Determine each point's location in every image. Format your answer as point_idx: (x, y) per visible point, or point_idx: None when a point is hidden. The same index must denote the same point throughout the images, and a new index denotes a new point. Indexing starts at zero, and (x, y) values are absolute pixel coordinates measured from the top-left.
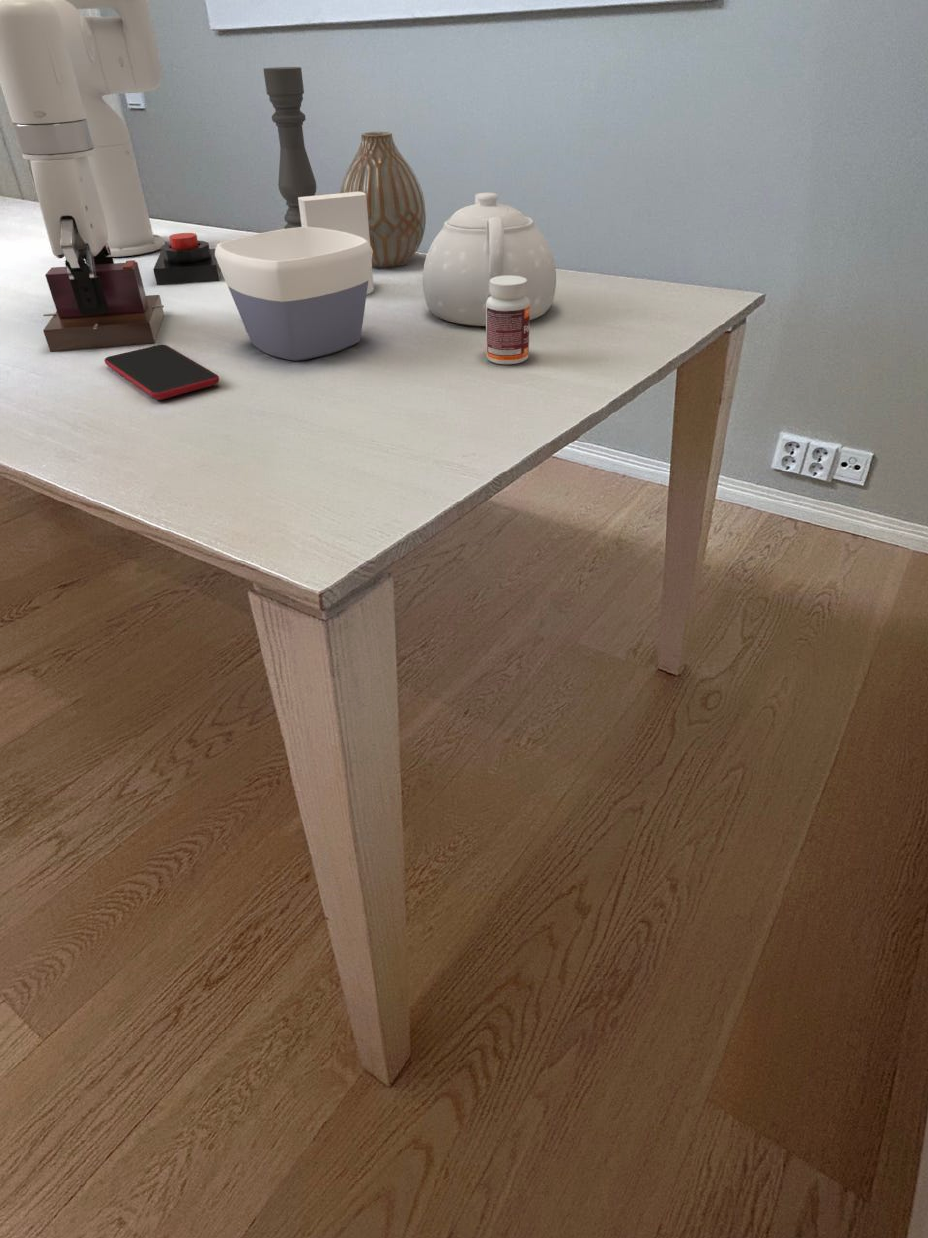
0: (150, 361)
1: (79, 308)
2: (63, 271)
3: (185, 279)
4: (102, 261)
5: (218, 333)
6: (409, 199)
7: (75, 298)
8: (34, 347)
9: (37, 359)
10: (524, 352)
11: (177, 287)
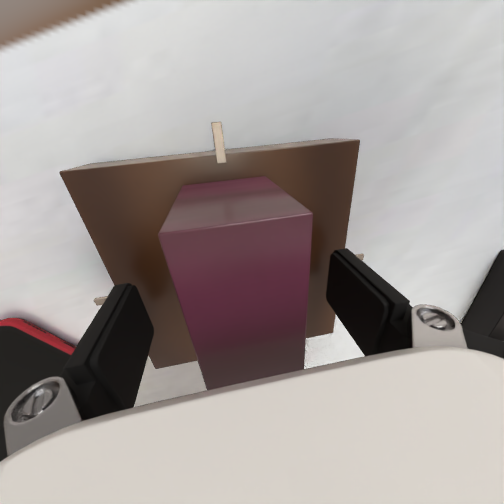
0: (10, 387)
1: (112, 293)
2: (219, 293)
3: (484, 294)
4: (370, 338)
5: (206, 388)
6: None
7: (98, 312)
8: (121, 102)
9: (21, 147)
10: None
11: (461, 285)
